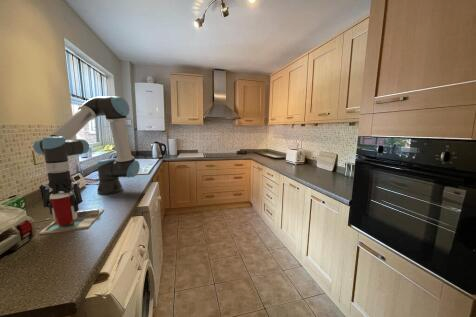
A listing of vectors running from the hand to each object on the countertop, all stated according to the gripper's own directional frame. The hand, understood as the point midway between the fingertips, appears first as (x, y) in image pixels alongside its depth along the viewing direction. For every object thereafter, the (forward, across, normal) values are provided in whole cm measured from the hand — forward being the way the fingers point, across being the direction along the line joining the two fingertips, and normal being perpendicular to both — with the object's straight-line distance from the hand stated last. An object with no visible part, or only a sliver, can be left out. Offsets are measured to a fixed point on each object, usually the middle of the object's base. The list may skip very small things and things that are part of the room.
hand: (66, 219), depth 93 cm
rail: (+2, +2, +6) cm, 7 cm away
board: (+3, +2, +3) cm, 5 cm away
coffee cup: (+2, 0, 0) cm, 2 cm away
